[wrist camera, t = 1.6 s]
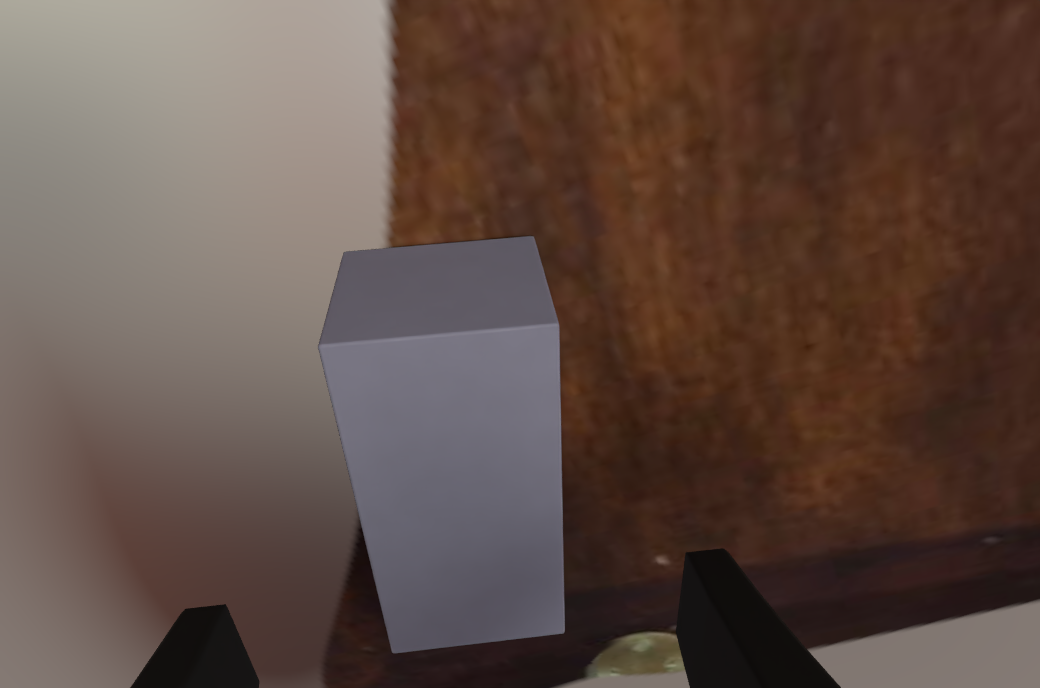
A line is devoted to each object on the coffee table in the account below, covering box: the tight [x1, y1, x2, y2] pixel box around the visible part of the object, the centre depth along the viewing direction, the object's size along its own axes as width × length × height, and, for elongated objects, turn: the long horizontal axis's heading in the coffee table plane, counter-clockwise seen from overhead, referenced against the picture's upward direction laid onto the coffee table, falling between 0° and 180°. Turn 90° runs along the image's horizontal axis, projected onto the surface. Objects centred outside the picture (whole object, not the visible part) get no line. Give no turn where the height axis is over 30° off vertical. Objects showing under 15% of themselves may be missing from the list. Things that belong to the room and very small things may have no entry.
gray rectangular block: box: [318, 236, 565, 653], centre depth 14 cm, size 8×4×4 cm, turn 3°
